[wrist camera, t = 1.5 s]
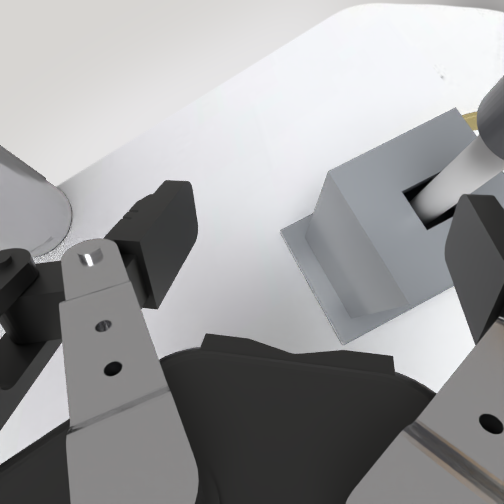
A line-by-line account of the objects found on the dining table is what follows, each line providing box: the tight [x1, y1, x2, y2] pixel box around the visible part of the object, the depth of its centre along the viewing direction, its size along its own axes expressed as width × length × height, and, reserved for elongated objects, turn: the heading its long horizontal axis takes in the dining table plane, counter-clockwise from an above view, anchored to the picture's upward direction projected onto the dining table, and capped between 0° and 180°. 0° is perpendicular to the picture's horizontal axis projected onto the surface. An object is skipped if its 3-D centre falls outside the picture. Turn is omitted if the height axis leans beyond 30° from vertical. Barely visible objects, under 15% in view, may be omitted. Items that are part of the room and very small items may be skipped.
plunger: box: [409, 76, 504, 226], centre depth 19 cm, size 5×5×27 cm
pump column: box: [280, 107, 504, 345], centre depth 33 cm, size 14×14×18 cm
